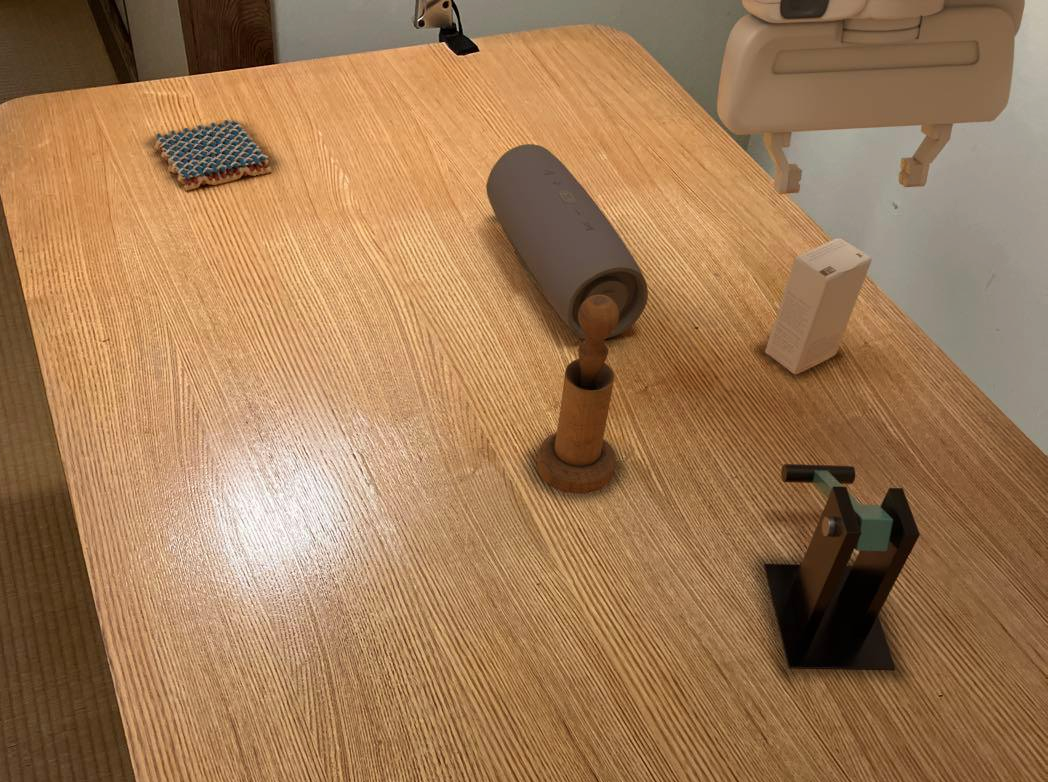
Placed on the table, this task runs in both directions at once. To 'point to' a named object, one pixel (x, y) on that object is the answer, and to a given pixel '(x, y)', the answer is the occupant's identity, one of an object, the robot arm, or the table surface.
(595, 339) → the mortar and pestle
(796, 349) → the cosmetic box
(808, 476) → the lever
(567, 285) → the bluetooth speaker
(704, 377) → the table surface
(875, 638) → the bracket
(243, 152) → the woven mat
